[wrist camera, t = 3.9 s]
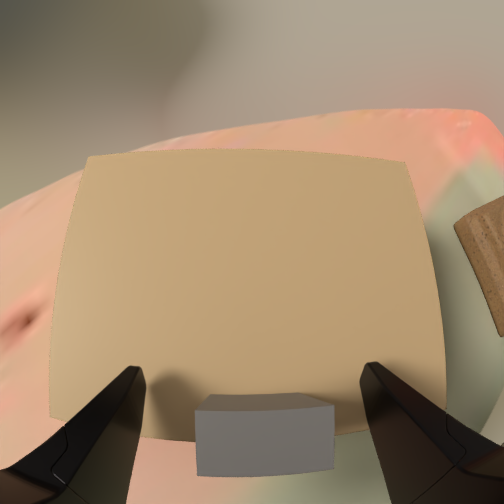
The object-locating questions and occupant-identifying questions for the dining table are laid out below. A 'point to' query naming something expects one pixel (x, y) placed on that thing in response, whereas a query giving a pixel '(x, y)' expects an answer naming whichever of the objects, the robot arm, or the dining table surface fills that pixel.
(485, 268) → the candle holder
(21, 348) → the dining table surface
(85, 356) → the lid
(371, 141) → the dining table surface
